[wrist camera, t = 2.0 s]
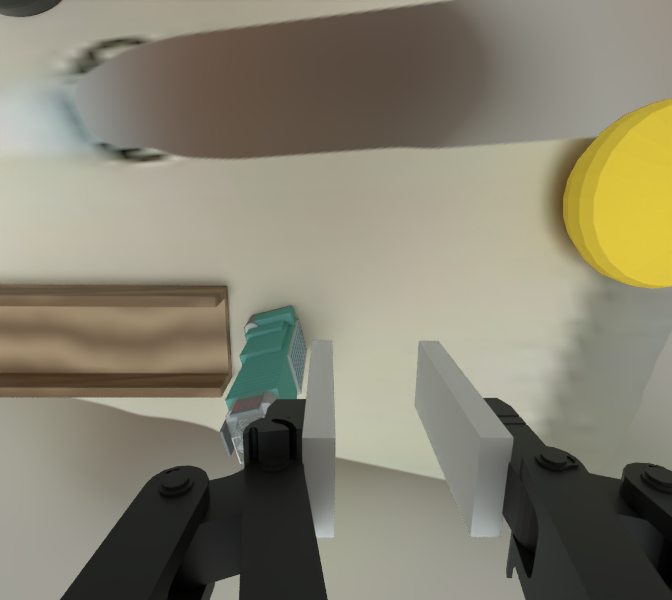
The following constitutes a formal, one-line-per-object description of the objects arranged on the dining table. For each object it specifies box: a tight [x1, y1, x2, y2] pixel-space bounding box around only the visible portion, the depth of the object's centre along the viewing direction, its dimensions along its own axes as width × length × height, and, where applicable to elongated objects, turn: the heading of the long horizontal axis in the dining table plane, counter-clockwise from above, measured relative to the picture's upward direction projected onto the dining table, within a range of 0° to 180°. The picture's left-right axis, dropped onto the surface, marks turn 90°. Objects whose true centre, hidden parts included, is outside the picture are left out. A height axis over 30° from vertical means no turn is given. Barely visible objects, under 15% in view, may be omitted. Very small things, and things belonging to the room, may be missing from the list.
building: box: [219, 306, 307, 470], centre depth 37 cm, size 6×6×30 cm
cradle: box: [0, 285, 232, 397], centre depth 49 cm, size 12×28×6 cm, turn 89°
